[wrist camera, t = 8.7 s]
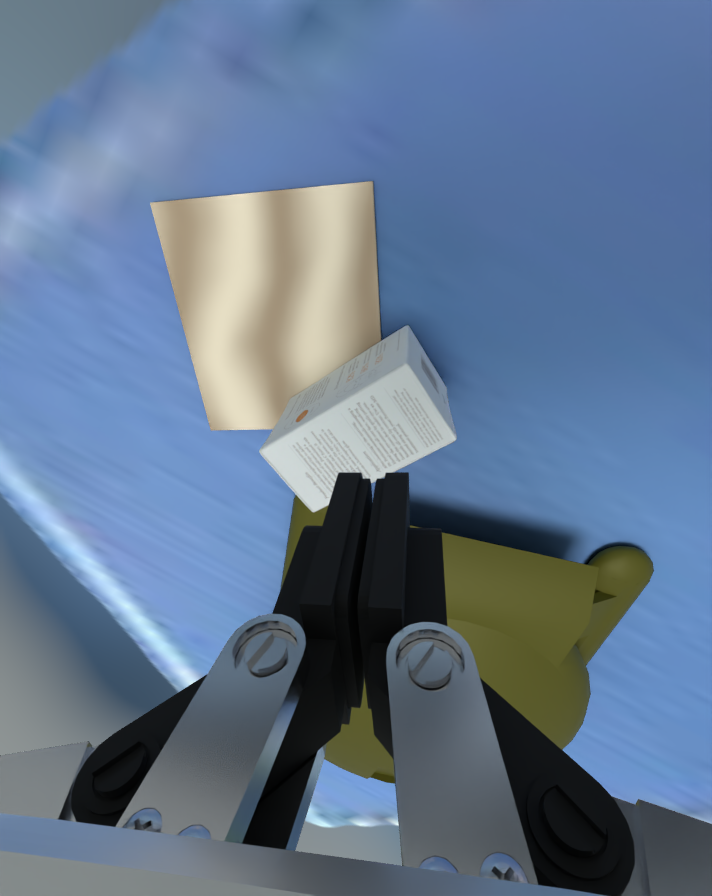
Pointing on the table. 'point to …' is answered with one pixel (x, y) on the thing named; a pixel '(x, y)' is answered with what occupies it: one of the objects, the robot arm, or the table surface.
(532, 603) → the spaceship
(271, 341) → the board
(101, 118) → the table surface
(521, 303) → the table surface
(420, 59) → the table surface
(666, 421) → the table surface
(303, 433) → the small box
